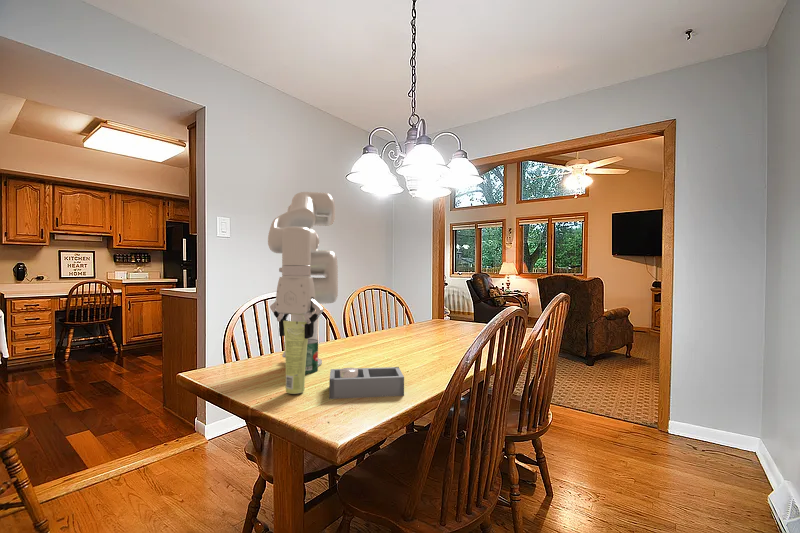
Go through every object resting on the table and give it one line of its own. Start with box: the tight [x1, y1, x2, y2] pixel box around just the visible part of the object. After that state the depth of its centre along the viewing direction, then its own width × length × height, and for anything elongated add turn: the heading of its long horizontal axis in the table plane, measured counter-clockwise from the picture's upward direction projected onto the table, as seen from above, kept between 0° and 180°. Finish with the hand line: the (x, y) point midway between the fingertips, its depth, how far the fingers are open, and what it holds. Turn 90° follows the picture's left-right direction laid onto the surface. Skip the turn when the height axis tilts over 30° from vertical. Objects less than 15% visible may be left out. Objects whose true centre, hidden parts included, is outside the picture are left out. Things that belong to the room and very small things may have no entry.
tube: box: [283, 320, 308, 395], centre depth 106 cm, size 6×5×20 cm
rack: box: [328, 366, 405, 400], centre depth 108 cm, size 20×10×6 cm, turn 99°
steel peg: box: [340, 367, 358, 378], centre depth 108 cm, size 5×5×6 cm
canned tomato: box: [305, 339, 319, 376], centre depth 128 cm, size 8×8×11 cm
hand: (296, 336), depth 106 cm, fingers closed on tube, 7 cm apart
